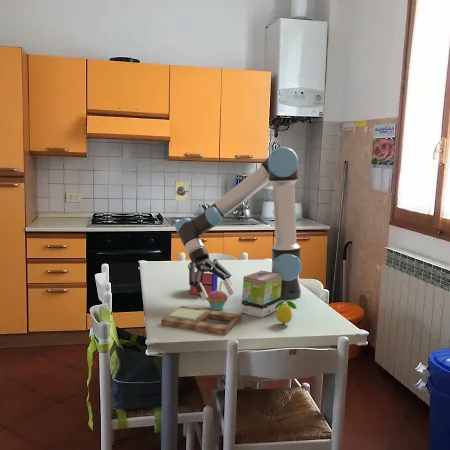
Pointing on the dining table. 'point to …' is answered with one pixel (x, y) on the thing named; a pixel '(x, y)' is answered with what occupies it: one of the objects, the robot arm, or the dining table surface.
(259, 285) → the tea box
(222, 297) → the cupcake
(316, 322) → the dining table surface
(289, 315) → the lemon
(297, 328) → the dining table surface
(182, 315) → the pad
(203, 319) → the walnut board
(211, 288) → the puzzle cube
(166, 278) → the dining table surface
